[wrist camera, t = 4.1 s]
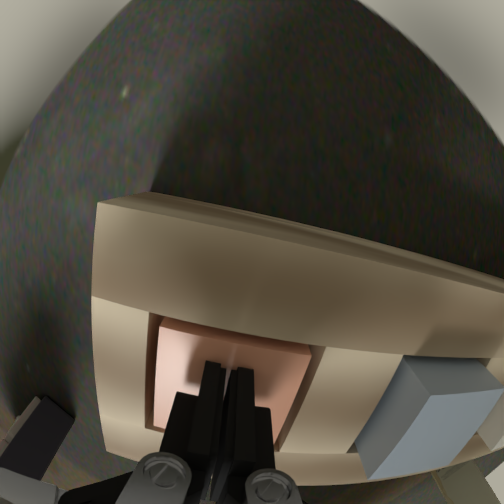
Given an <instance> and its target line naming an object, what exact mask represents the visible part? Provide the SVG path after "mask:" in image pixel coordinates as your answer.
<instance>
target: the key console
mask: <svg viewBox="0 0 504 504" xmlns="http://www.w3.org/2000/svg"><path fill="white" fill-rule="evenodd" d="M165 316H167V317H171V318H175V319H179V320H184V321H188V322H192V323H197V324H201V325H206V326H210V327H215V328H220V329H225V330H230V331H235V332H240V333H245V334H250V335H256V336H261V337H267V338H273V339H279V340H285V341H291V342H298V343H304V344H308V346H309V349H310V352H311V355H312V356H311V359H310V362H309V364H308V367H307V369H306V372H305V374H304V377H303V379H302V382H301V384H300V387H299V389H298V391H297V394H296V396H295V399H294V401H293V403H292V406H291V408H290V410H289V413H288V415H287V417H286V419H285V422H284V424H283V426H282V428H281V430H280V433H279V435H278V437H277V439H276V441H275V443H274V455H275V467H276V469H277V470H280V471H283V472H284V473H286V474H288V475H289V476H290V477H291V478H292V479H293V480H294V481H295V483H296V485H297V486H317V485H340V484H354V483H364V482H373V481H380V480H387V479H394V478H400V477H405V476H410V475H415V474H420V473H425V472H429V471H433V470H437V469H441V468H445V467H449V466H452V465H456V464H459V463H462V462H466V461H469V460H472V459H475V458H478V457H480V456H483V455H486V454H489V453H491V452H494V451H497V450H499V449H502V448H503V447H504V446H503V447H501V448H498V449H495V450H493V451H490V449H489V448H488V447H487V445H486V444H485V442H484V441H483V439H482V438H481V437H480V435H479V434H478V433H477V431H476V432H475V434H474V435H473V436H472V437H471V439H470V440H469V441H468V442H467V444H466V445H465V446H464V447H463V449H462V450H461V451H460V452H459V453H458V454H457V456H456V457H455V458H454V459H453V460H452V461H451V462H450V464H449V465H446V466H442V467H438V468H434V469H430V470H426V471H421V472H416V473H411V474H406V475H400V476H394V477H388V478H381V479H373V480H367V477H366V474H365V471H364V468H363V465H362V462H361V459H360V456H359V453H358V451H357V448H356V445H355V442H354V441H355V439H356V438H357V436H358V435H359V433H360V432H361V430H362V429H363V427H364V425H365V424H366V422H367V421H368V419H369V417H370V416H371V414H372V412H373V411H374V409H375V407H376V406H377V404H378V402H379V401H380V399H381V397H382V395H383V394H384V392H385V390H386V388H387V386H388V385H389V383H390V381H391V379H392V377H393V375H394V373H395V371H396V369H397V367H398V366H399V364H400V362H401V360H402V357H403V355H415V356H432V357H457V358H476V359H477V360H478V361H479V362H480V363H481V364H482V365H483V366H484V367H485V368H486V369H487V370H488V371H489V372H490V373H491V374H492V375H493V376H494V377H495V378H496V379H497V380H498V381H499V382H500V383H501V384H502V385H503V386H504V279H502V278H499V277H495V276H492V275H489V274H486V273H483V272H479V271H476V270H473V269H470V268H466V267H463V266H460V265H456V264H453V263H450V262H446V261H443V260H439V259H436V258H432V257H429V256H425V255H422V254H418V253H415V252H411V251H408V250H404V249H400V248H397V247H393V246H389V245H386V244H382V243H378V242H374V241H370V240H367V239H363V238H359V237H355V236H351V235H347V234H343V233H339V232H335V231H331V230H327V229H323V228H319V227H315V226H310V225H306V224H302V223H298V222H294V221H289V220H285V219H281V218H276V217H272V216H267V215H263V214H258V213H254V212H249V211H245V210H240V209H235V208H231V207H226V206H221V205H216V204H211V203H207V202H202V201H197V200H192V199H187V198H181V197H176V196H171V195H166V194H161V193H155V192H150V191H149V192H144V193H139V194H134V195H129V196H124V197H119V198H115V199H110V200H105V201H101V202H98V205H97V214H96V223H95V234H94V247H93V264H92V340H93V357H94V370H95V380H96V389H97V398H98V405H99V412H100V419H101V425H102V431H103V436H104V441H105V446H106V451H108V452H111V453H114V454H117V455H120V456H123V457H126V458H129V459H132V460H135V461H138V462H139V461H140V460H141V459H142V458H143V457H144V456H146V455H147V454H149V453H154V452H159V449H160V446H161V442H162V439H163V435H164V432H165V429H164V428H160V427H157V426H154V396H155V377H156V362H157V348H158V336H159V326H160V325H161V323H162V321H163V319H164V317H165ZM211 478H212V477H211Z"/></svg>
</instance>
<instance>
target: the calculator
mask: <svg viewBox="0 0 504 504" xmlns="http://www.w3.org/2000/svg"><path fill="white" fill-rule="evenodd" d="M74 421H75V420H74V419H73V418H72V417H71V416H70V415H68V414H67V413H66V412H65V411H64V410H62V409H61V408H60V407H59V406H58V405H56V404H55V403H54V402H53V401H52V400H51V399H49V398H48V397H47V396H45V397H44V398H43V399H42V400H40V399H39V398H38V397H37V396H36V397H35V398H34V399H33V400H32V402H31V403H30V404H29V405H28V407H27V408H26V409H25V410H24V412H23V413H22V414H21V415H20V416H19V415H18V416H17V418H16V420H15V422H14V425H13V426H12V427H11V429H10V430H9V431H8V433H7V435H6V438H5V439H3V440H2V441H1V442H0V467H1V468H5V469H8V470H10V471H13V472H16V473H18V474H21V475H24V476H27V477H30V478H33V479H36V480H39V481H41V479H42V477H43V475H44V474H45V472H46V470H47V468H48V466H49V465H50V463H51V461H52V459H53V457H54V456H55V454H56V452H57V450H58V449H59V447H60V445H61V444H62V442H63V440H64V438H65V437H66V435H67V433H68V432H69V430H70V428H71V427H72V425H73V423H74Z"/></svg>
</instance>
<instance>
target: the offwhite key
mask: <svg viewBox="0 0 504 504" xmlns="http://www.w3.org/2000/svg"><path fill="white" fill-rule="evenodd" d="M477 433H478V434H479V435H480V437H481V438H482V439H483V441H484V442H485V444H486V445H487V447H488V448H489V449H490V451H493V450H495V449H498V448H501V447H503V446H504V392H503V393H502V395H501V396H500V398H499V399H498V401H497V403H496V404H495V406H494V407H493V409H492V410H491V411H490V413H489V414H488V416H487V417H486V419H485V420H484V421H483V423H482V424H481V426H480V427H479V428H478V430H477Z"/></svg>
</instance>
